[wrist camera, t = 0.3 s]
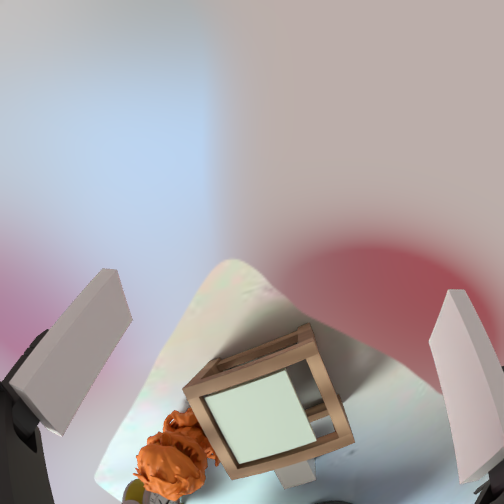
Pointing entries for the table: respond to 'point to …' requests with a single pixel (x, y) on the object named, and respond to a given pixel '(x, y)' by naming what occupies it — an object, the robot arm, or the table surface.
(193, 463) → the orange sculpture
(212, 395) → the hatch
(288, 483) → the grey block
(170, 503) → the alarm clock
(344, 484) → the table surface
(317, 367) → the frame
